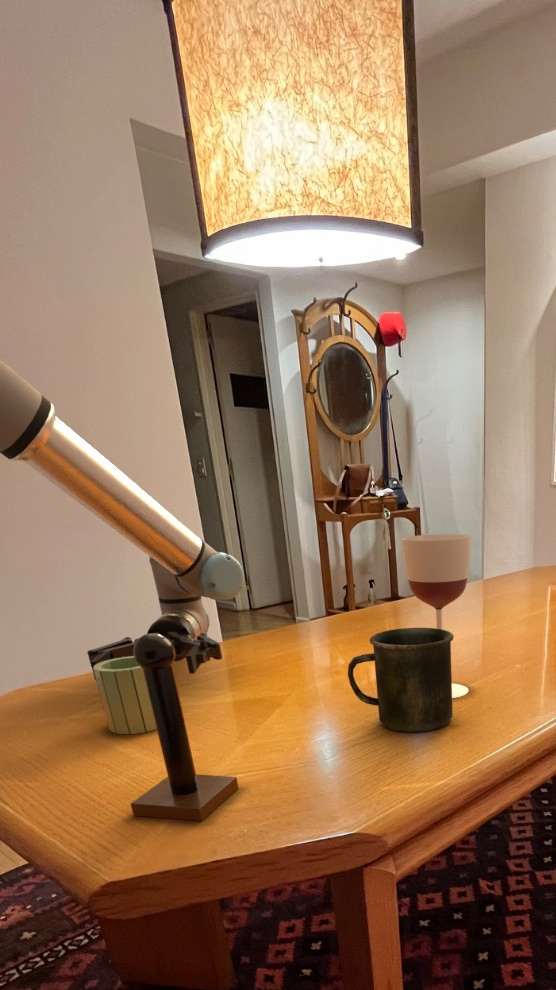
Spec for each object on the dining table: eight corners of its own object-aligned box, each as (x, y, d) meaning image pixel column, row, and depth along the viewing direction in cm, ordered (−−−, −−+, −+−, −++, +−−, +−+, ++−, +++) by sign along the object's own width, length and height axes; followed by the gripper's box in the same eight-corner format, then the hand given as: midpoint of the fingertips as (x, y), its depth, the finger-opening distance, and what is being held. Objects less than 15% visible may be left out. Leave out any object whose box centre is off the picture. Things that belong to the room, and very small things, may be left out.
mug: (462, 730, 91) (461, 642, 86) (355, 740, 89) (346, 650, 84) (448, 705, 101) (445, 625, 96) (350, 714, 99) (342, 632, 93)
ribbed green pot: (97, 732, 95) (80, 670, 91) (132, 714, 102) (118, 655, 98) (148, 735, 93) (132, 672, 89) (180, 716, 100) (167, 656, 96)
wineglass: (475, 698, 104) (473, 539, 94) (410, 701, 103) (402, 541, 93) (469, 681, 112) (467, 533, 102) (409, 684, 112) (401, 535, 101)
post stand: (133, 816, 71) (86, 642, 63) (175, 784, 78) (138, 624, 70) (201, 821, 70) (163, 644, 61) (238, 788, 77) (208, 625, 68)
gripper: (249, 652, 123) (232, 686, 104) (106, 661, 120) (62, 697, 101) (242, 610, 119) (224, 637, 100) (94, 618, 116) (47, 648, 98)
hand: (143, 667), depth 101 cm, fingers open, 13 cm apart
